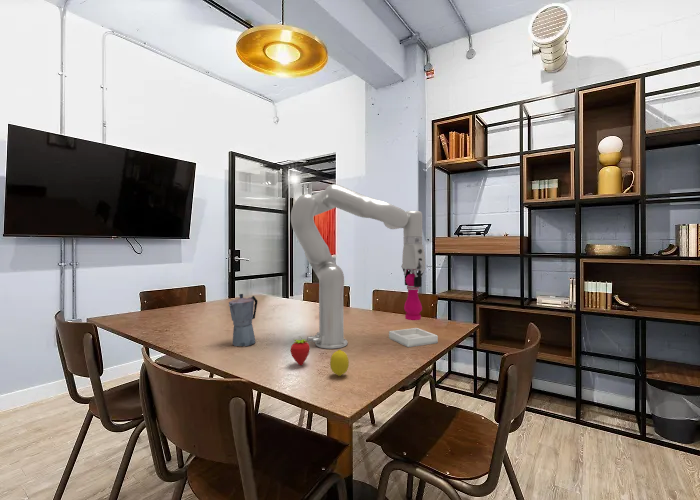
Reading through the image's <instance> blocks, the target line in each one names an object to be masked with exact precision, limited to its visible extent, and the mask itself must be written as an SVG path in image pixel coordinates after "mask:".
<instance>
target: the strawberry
mask: <svg viewBox="0 0 700 500" xmlns="http://www.w3.org/2000/svg"><path fill="white" fill-rule="evenodd" d="M306 339H307V338H304V339H302V337H300V339H294V342H293V344H292V345H291V346H290V353H291V357H292V358H293V359H294V361H295V362H296V363H297V364H298V365H299V366H300V367H301V366H303V365H304V363H305V361H306V360H307V358H308V356H309V354H310V349H311V347H310V344H309V343H308V340H306Z"/></svg>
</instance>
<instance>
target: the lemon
mask: <svg viewBox="0 0 700 500" xmlns="http://www.w3.org/2000/svg"><path fill="white" fill-rule="evenodd" d="M331 354H332V355H331V357H330V361H329V365H330V370H331V371H332V373H333V374H335V375H337V376H338V377H341V376H342V375H344V374H345V373H346V372H347V370H349V363H350V362H349V357H348V354H347V353H346V352H345V351H344V350H341V349H338V350H336V351H334V352H333V353H331Z"/></svg>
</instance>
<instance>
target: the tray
mask: <svg viewBox="0 0 700 500" xmlns="http://www.w3.org/2000/svg"><path fill="white" fill-rule="evenodd" d="M438 338H439V337H438V335H437V334H434V333H432V332H430V331H427V330H425V329H421V328H418V327H414V328H413V327H412V328H405V329H397V330H389V331H388V339H390V340H392V341H393V342H396V343H398V344H400V345H402V346H404V347H406V348H413V347H418V346H425V345H433V344H438V343H439V342H438V341H439V339H438Z"/></svg>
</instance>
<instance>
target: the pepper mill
mask: <svg viewBox="0 0 700 500" xmlns="http://www.w3.org/2000/svg"><path fill="white" fill-rule="evenodd" d="M414 277H415V273H414V270H411V274H409V275H407V276H406V283H407V284H408V285H406V290H407V298H406V300H405V302H404V307H403V310H404V312H405V315H404V319H405V320H408V321H419V320H422V315H421V312H422V311H423V306H422V303H421V300H420V298H419V290H420V287H414Z"/></svg>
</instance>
